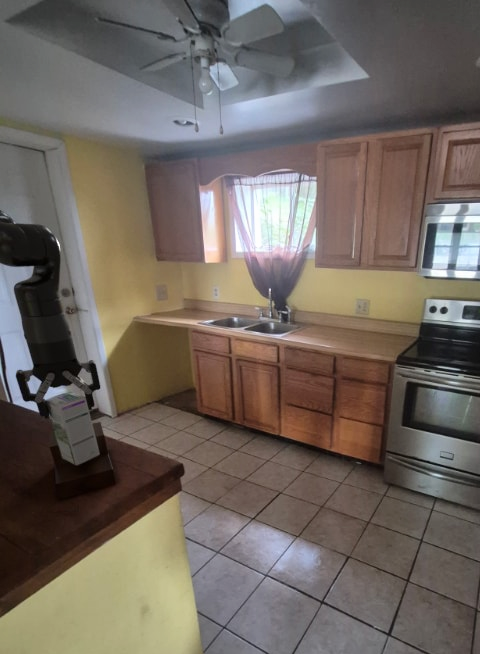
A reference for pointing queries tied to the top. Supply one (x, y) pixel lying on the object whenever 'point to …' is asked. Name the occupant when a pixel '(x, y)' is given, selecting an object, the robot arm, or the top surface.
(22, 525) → the top surface
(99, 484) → the shelf riser
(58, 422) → the syrup box
